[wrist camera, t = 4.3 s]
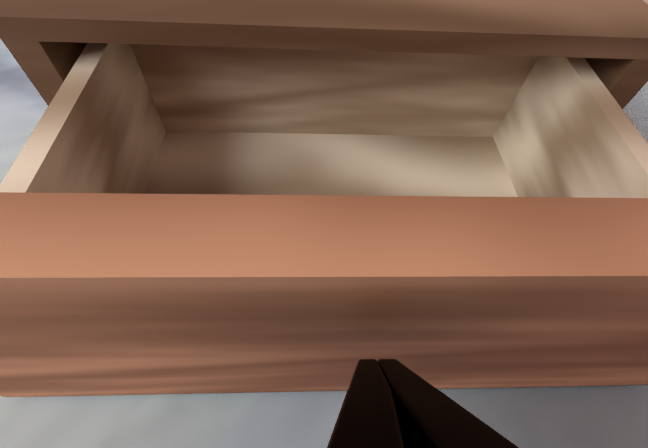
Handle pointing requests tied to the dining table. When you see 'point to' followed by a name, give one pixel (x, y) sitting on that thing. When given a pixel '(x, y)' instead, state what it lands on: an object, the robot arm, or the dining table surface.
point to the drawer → (323, 224)
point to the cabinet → (336, 30)
